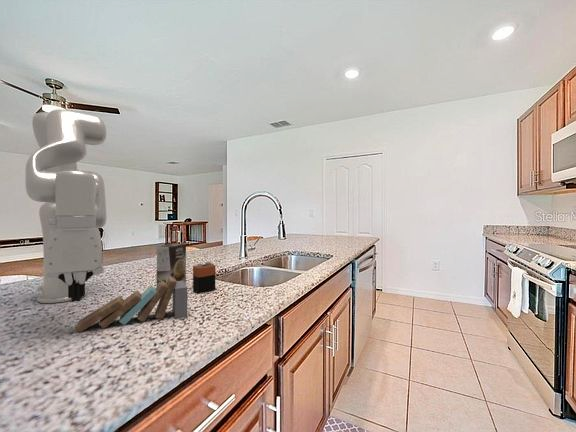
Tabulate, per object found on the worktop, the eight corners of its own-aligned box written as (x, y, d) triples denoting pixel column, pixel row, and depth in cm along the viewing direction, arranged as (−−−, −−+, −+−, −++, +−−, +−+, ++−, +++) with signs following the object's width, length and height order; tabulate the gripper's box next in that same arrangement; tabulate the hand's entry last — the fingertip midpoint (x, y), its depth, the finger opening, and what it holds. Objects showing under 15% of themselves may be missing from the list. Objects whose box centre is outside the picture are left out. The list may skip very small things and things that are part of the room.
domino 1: (74, 327, 63) (118, 300, 67) (79, 320, 67) (120, 295, 71) (79, 333, 63) (122, 306, 67) (83, 324, 68) (123, 300, 72)
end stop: (175, 318, 72) (175, 288, 72) (172, 309, 79) (172, 281, 79) (187, 316, 73) (187, 287, 73) (183, 307, 80) (183, 280, 80)
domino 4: (137, 319, 69) (162, 284, 71) (138, 312, 73) (161, 280, 76) (143, 322, 70) (168, 287, 72) (143, 315, 74) (166, 283, 76)
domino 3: (119, 321, 67) (151, 289, 70) (120, 314, 71) (150, 285, 75) (124, 325, 68) (156, 293, 71) (125, 318, 72) (155, 288, 75)
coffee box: (172, 292, 95) (172, 246, 94) (155, 291, 96) (155, 245, 96) (186, 285, 104) (186, 243, 103) (171, 284, 105) (171, 243, 105)
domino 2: (98, 324, 65) (137, 295, 69) (101, 317, 69) (137, 290, 73) (103, 328, 65) (141, 299, 69) (105, 321, 70) (141, 294, 74)
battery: (216, 290, 98) (216, 262, 98) (198, 294, 93) (198, 265, 93) (209, 287, 101) (209, 260, 101) (192, 291, 96) (192, 263, 96)
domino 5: (156, 317, 71) (170, 280, 72) (155, 311, 75) (169, 276, 77) (162, 319, 72) (176, 282, 73) (161, 312, 76) (174, 278, 77)
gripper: (28, 224, 58) (29, 310, 58) (112, 223, 65) (112, 300, 65) (40, 223, 64) (41, 300, 65) (114, 222, 71) (115, 291, 72)
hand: (76, 299), depth 65 cm, fingers closed
